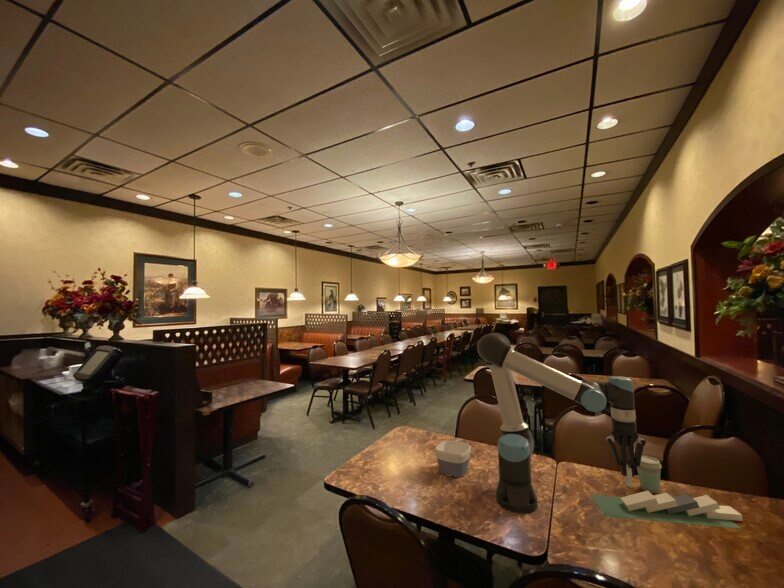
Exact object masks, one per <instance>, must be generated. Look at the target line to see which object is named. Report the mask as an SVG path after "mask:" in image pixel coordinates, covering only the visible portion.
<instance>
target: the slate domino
mask: <svg viewBox="0 0 784 588" xmlns="http://www.w3.org/2000/svg"><path fill="white" fill-rule="evenodd" d="M671 497H672V498H673V499H675V500H676V503H677V505H678V506H676V507H672V508H667V509H664V510H665V511H666V512H667V513H668V514H669V515H670V514H674V513H678V512H682V511H686V510H690V509H695V508H699V505H698V503H697V501H696V500H694V499H693V498H694V497H691V496H690V495H689V494H688V493H684V494H681V495H676V496H671Z"/></svg>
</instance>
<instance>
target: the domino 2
mask: <svg viewBox="0 0 784 588" xmlns="http://www.w3.org/2000/svg"><path fill="white" fill-rule="evenodd" d="M653 496H654V497H655V498H656V499H657V501H658V504H656V505H652V506H648V507H644V509H645V510H646V511H647V512H648V513H649V512H654V511H658V510H663V509H667V508H672V507H676V506H678V505H677V503H676V500H675V499H673V498H672V497H673V496H671V495H670V494H668V492H663V493H659V494H658V493H657V494H655V495H654V494H653Z"/></svg>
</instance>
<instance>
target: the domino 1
mask: <svg viewBox="0 0 784 588" xmlns="http://www.w3.org/2000/svg"><path fill="white" fill-rule="evenodd" d="M620 497H621V498H620V499H621V501H622V503H623V504H624V506H625V507H626V508H627V509H628V510H629V511H632V510H636V509H640V508H644V507H648V506H652V505H656V504H658V501H657V499H656V498H655V497H654V494H653V493H650V492H649V491H645V490H643V491H641V492H637V493H633V494H630V495H626V496H620Z"/></svg>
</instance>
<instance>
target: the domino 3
mask: <svg viewBox="0 0 784 588" xmlns="http://www.w3.org/2000/svg"><path fill="white" fill-rule="evenodd" d="M692 498H693V499H694V500H696V501H697V503H698V505H699V508H695V509H690V510H686V511H684V512H685V513H686V514H687V515H688V516H693V515H697V514H701V513H705V512H709V511H713V510H717V509H720V507H719V503H718V502H717V501H716V500H715V499H713V498H711V497H710V496H709V495H708V494H705V495H701V496H697V497H692Z"/></svg>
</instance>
